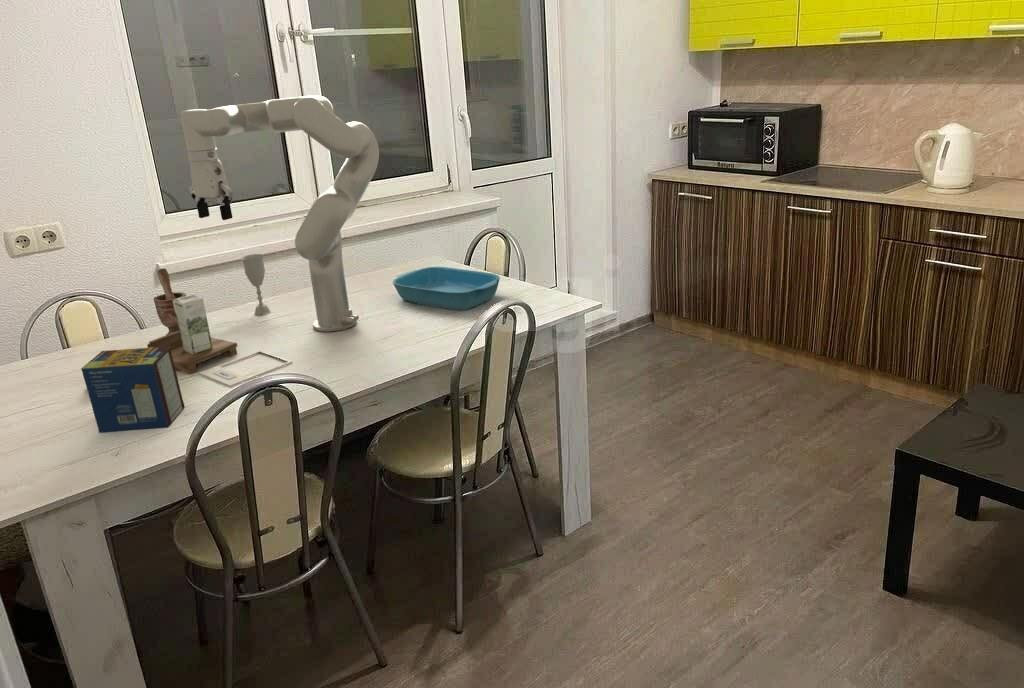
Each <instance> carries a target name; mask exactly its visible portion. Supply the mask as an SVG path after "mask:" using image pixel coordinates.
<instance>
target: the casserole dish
mask: <svg viewBox="0 0 1024 688" xmlns="http://www.w3.org/2000/svg"><path fill="white" fill-rule="evenodd" d="M500 279H501V278H500V276H499V275H498V274H495V273H491V272H485V271H477V270H471V269H470V270H468V269H462V268H455V267H447V266H428V267H427V266H426V267H423V268H420V269H415V270H409V271H406V272H404V273H401V274H399V275H397V277H396V278H395V279H393V280H392V284H393V286H394V288H395V290H396V291H397V293H398V296H399V297H400V298H401V300H404V301H406V302H409V303H412V302H413V304H417V303H418V304H419V305H423V304H424V306H428V305H429V307H434V306H435V307H436V308H440V307H442V308H441V309H447V308H448V310H454V309H457V310H456V311H458V310H459V311H464V310H463V309H466V310H469V308H470V309H472V307H473V308H475V307H478V306H479V304H480V305H481V304H483V302H484V303H486V302H488V301H489V300H491V299H492V298H493V297H494V296H495V295H496V293H497V291H498V288H499V283H500ZM490 298H491V299H490ZM487 300H488V301H487ZM485 301H486V302H485ZM474 306H475V307H474ZM435 307H434V308H435Z"/></svg>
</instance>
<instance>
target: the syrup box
mask: <svg viewBox="0 0 1024 688" xmlns="http://www.w3.org/2000/svg"><path fill="white" fill-rule="evenodd" d="M173 305H174V310H175V314H176V318H177V323H178V328H179V332H180V337H181V341H182V346H183V350H184V351H186V352H188V353H191V354H193V355H194V354H197V353H200V352H203V351H206V350H209V349H212V348H213V346H212V341H211V338H212V336H211V332H210V328H209V323H208V318H207V317H208V316H207V312H206V307H205V302H204V298H202V297H201V296H199V295H197V294H190V295H186V296H185V297H182V298H178V299H174V300H173Z"/></svg>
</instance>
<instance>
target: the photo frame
mask: <svg viewBox="0 0 1024 688" xmlns="http://www.w3.org/2000/svg"><path fill="white" fill-rule="evenodd" d="M259 352H260V353H262V354H266V355H268V356H270V355H271V357H273V356H274V357H273V358H276V357H277V359H279V358H280V360H282V361H285V362H284V363H282V364H279V365H276V366H274V367H271V368H269V369H266V370H264V371H261V372H258V373H255V374H253V375H251V376H245V375H242V374H240V373H237V372H235V371H232V370H230V369H227V368H225V367H226V366H229V365H232V364H235V363H238V362H241V361H243V360H245V359H248V357H249V358H251V357H250V356H252V357H253V355H254V356H257V355H258V354H259ZM256 354H257V355H256ZM240 360H241V361H240ZM237 361H238V362H237ZM290 363H291V364H293V361H292V360H289V359H287V358H283V357H281V356H278V355H276V354H272V353H269V352H267V351H264V350H261V349H260V350H258V351H255V352H252V353H250V354H246V355H244V356H241V357H238V358H235V359H233V360H230V361H227V362H225V363H222V364H219V365H217V366H214V367H210V368H209V369H205V370H202V371H200V372H199V373H198V374H199V375H200V376H202V377H205V378H207V379H209V380H211V381H214V382H216V383H219V384H221V385H224V386H226V387H229V388H233V387H235V386H237V384H238V383H240V384H242V383H241V382H243V383H245V382H247V381H250V380H252V378H253V379H255V378H257V377H256V376H258V377H260V376H263V375H265V374H268V373H270V372H273V371H276V370H278V369H277V368H279V367H281V368H283V367H282V366H284V365H286V366H288V365H287V364H289V365H291V364H290ZM284 367H285V366H284ZM275 369H276V370H275ZM279 369H280V368H279ZM272 370H273V371H272ZM244 381H245V382H244ZM238 385H239V384H238Z"/></svg>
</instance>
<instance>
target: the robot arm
mask: <svg viewBox="0 0 1024 688" xmlns="http://www.w3.org/2000/svg"><path fill="white" fill-rule="evenodd" d="M334 113H335V112H334V107H333V104H332V103H331V101H330V100H329V99H328V98H327V97H325V96H322V95H315V94H314V95H305V96H304V95H303V96H296V97H286V98H278V99H277V98H276V99H274V98H273V99H269V100H266V101H261V102H251V103H246V104H245V103H243V104H234V105H233V104H232V105H225V106H219V107H215V108H211V109H205V108H198V109H196V108H195V109H186V110H183V111H182V112H181V113H180V120H181V125H182V129H183V130H182V131H183V135H184V141H185V144H186V149H187V155H188V159H189V169H190V170H189V171H190V179H191V184H190V186H189V187H188V191H189V193H190V194H191V198H192V199H193V200H194V204H195V205H196V208H197V213H198V218H199V219H203V218H204V219H205V218H208V217H210V215H211V214H210V210H209V205H208V201H207V199H210V200H211V199H213V200H214V199H215V200H217V201H218V203H219V204H220V205H219V212H220V216H221V219H222V220H223V221H226V220H230V219H233V213H232V207H231V204H232V199H233V192H234V191H233V189H232V188H231V187H230V186H229V183H228V179H227V175H226V172H225V169H224V166H223V163H222V161H221V160H220V158H219V154H218V148H217V142H216V138H225V137H229V136H233V135H236V134H242V133H249V132H251V133H252V132H260V131H269V132H273V133H277V134H278V133H288V132H294V131H295V132H296V131H303V132H304V134H305V133H306V135H308V136H309V137H311V139H313V140H314V141H316V142H317V143H318V144H320V145H321V146H323V147H324V148H325V149H326V150H328V151H329V152H331V153H333V154H334V155H335V156H337V157H339V158H342V159H345V161H344V163H343V164H342V166H341V168H340V169H339V172H338V173H337V176H335V179H334V180H333V182H332V184H331V185H330V187H329V188H328V189H327V190H325V191H324V192H323V193H321V194H320V195H318V197H317V198H316V199H315V200H314V202H313V204H311V207H310V208H309V211H308V213H307V215H306V216H305V218H304V220H303V221H302V223H301V225H300V226H299V229H298V231H297V232H296V235H295V238H294V245H295V249H296V251H297V253H298V254H299V256H301V258H303V259H306V260H308V267H309V274H310V281H311V287H312V294H313V301H314V306H315V312H316V313H315V314H316V318H317V319H316V320H314V321H313V323H312V329H314V330H315V331H318V332H324V333H325V332H326V333H327V332H330V333H331V332H337V331H344V330H346V329H349V328H352V327H353V326H355V325H356V324H357V321H358V320H359V318H360V317H359V315H356V314H354V313H353V310H352V308H350V306H349V305H350V304H349V298H348V292H347V291H348V290H347V285H346V284H347V283H346V277H345V268H344V267H345V266H344V263H343V262H344V260H343V245H342V244H343V243H342V242H343V241H342V233H341V230H342V228H343V227H344V224H345V223H346V222H347V221H348V220H349V219H351V218H352V216H354V213H355V211H356V209H357V207H358V205H359V203H360V201H361V200H362V197H363V195H364V194H365V192H366V191H367V188H368V187H369V185H370V182H371V180H372V179H373V178H374V176H375V175H374V174H375V173H376V171H377V168H378V165H379V160H380V159H379V157H380V148H379V143H378V140H377V139H376V136H375V134H374V132H373V131H372V129H370V128H369V126H367V125H366V124H364V123H362V122H359V121H351V122H347V123H346V122H345V121H343V120H342V119H341V118H339V117H338V116H336V115H335V114H334Z"/></svg>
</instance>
